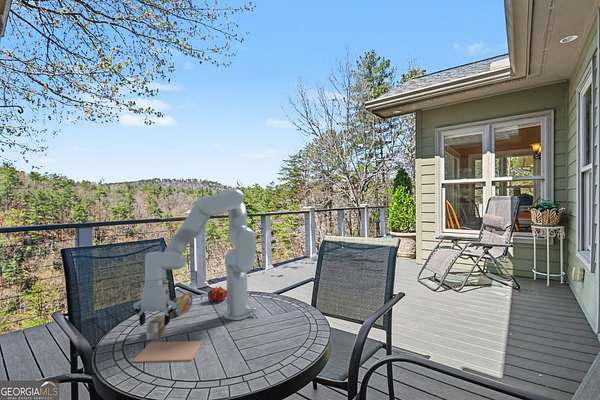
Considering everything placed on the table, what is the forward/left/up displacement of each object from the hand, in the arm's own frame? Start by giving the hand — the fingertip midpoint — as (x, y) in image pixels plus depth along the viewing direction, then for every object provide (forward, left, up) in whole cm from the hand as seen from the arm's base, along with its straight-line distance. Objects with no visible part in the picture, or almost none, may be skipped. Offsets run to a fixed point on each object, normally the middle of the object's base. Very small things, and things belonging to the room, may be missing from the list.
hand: (154, 324), depth 130 cm
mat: (-12, +15, -4) cm, 19 cm away
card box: (-1, 0, -4) cm, 4 cm away
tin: (-3, -25, -5) cm, 26 cm away
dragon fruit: (-17, -41, -5) cm, 45 cm away
